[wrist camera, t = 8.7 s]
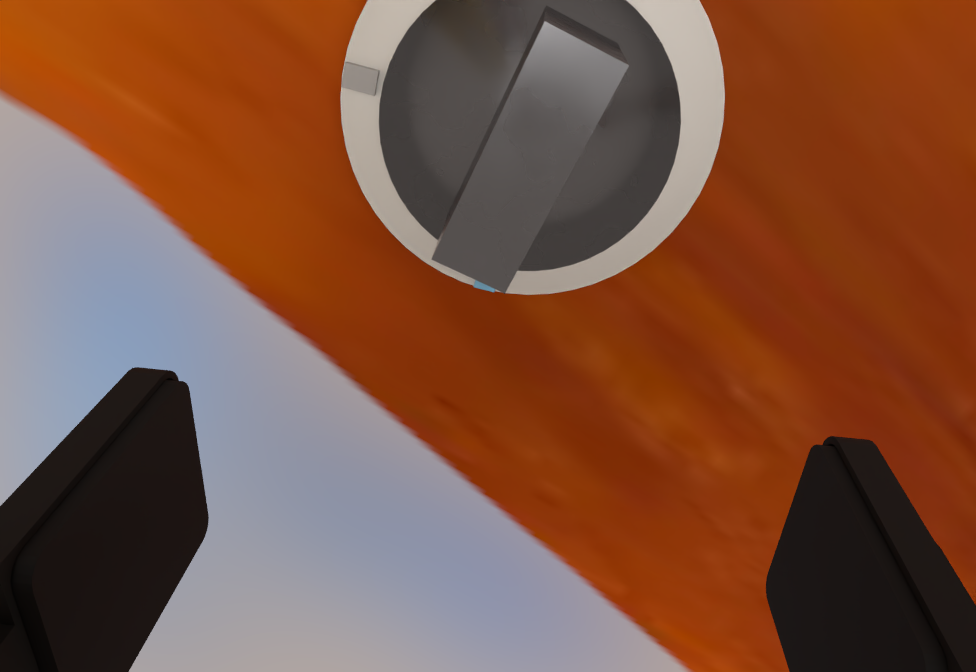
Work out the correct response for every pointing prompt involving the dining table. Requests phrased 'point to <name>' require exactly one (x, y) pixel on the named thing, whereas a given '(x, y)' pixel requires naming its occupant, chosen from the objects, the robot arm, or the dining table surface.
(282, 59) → the dining table surface
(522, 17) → the dial knob
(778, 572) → the robot arm
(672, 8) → the dial housing
